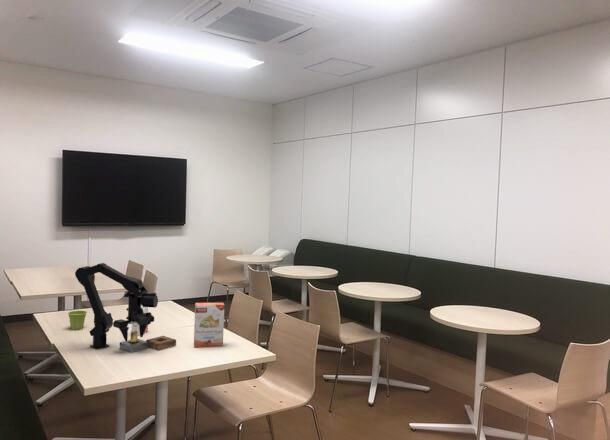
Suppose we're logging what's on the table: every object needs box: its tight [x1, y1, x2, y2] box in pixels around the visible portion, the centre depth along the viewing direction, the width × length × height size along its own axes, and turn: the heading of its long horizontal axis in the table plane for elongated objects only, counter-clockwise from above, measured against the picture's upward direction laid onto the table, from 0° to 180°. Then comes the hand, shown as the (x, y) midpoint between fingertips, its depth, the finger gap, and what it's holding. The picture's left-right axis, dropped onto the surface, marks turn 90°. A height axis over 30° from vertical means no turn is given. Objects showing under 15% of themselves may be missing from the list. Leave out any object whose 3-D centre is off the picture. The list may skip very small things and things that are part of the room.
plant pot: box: [67, 310, 88, 331], centre depth 253 cm, size 9×9×9 cm
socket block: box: [119, 338, 149, 354], centre depth 223 cm, size 9×9×3 cm
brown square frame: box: [145, 335, 177, 351], centre depth 228 cm, size 10×10×3 cm
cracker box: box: [193, 302, 225, 348], centre depth 232 cm, size 14×6×21 cm, turn 105°
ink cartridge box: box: [130, 306, 149, 336], centre depth 248 cm, size 9×5×15 cm, turn 168°
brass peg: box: [130, 331, 138, 344], centre depth 223 cm, size 3×3×8 cm
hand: (133, 339), depth 223 cm, fingers open, 8 cm apart
